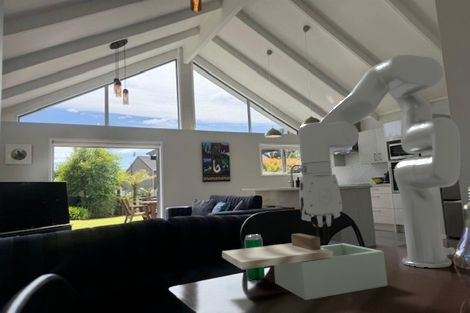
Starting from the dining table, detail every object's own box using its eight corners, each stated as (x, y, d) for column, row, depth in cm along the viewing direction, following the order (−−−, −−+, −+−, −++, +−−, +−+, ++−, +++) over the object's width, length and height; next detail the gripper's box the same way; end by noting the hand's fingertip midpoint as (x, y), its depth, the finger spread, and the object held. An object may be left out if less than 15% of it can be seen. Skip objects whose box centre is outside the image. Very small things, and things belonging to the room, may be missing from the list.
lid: (299, 247, 91) (298, 231, 91) (333, 257, 76) (331, 238, 76) (222, 257, 84) (221, 240, 85) (242, 269, 69) (240, 248, 69)
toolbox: (346, 272, 94) (343, 243, 95) (387, 285, 79) (383, 251, 80) (275, 282, 87) (272, 251, 88) (305, 300, 72) (302, 262, 73)
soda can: (252, 282, 90) (249, 237, 91) (243, 278, 94) (241, 235, 96) (268, 278, 92) (265, 235, 93) (259, 275, 97) (256, 233, 98)
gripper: (297, 170, 81) (304, 247, 79) (349, 167, 85) (358, 240, 83) (284, 173, 88) (290, 243, 86) (333, 170, 92) (340, 237, 90)
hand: (323, 242), depth 84 cm, fingers closed
